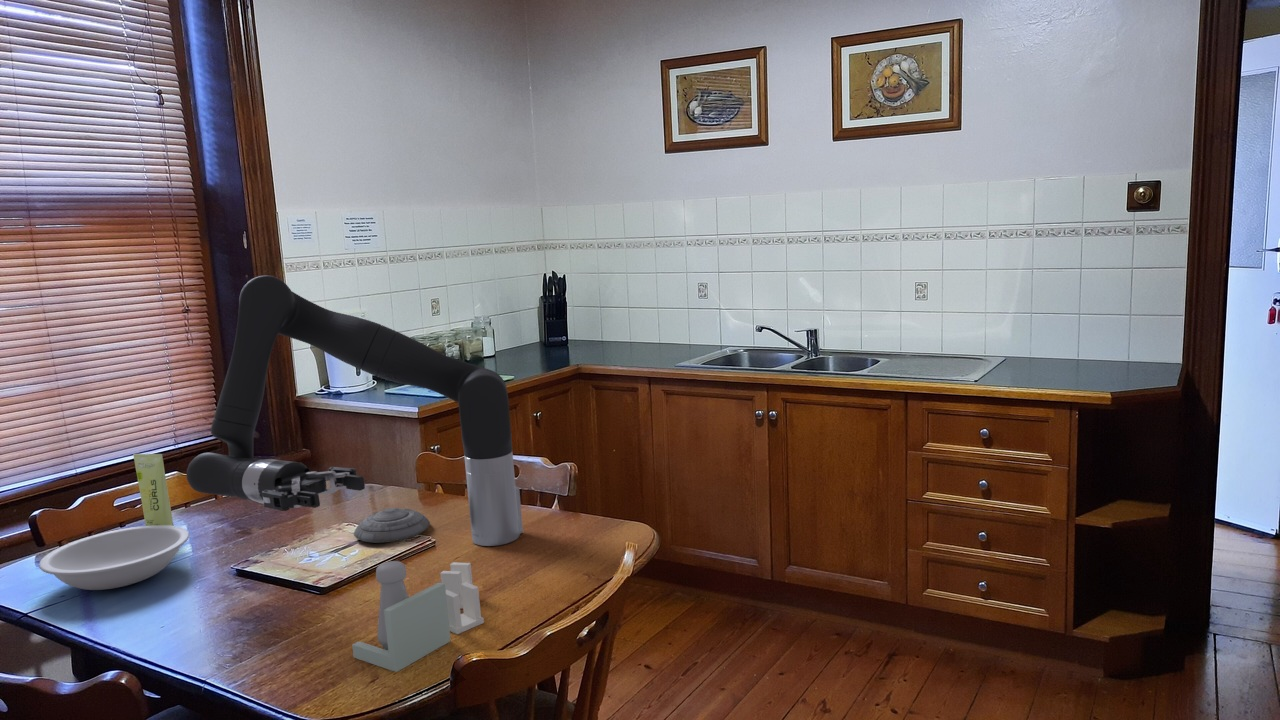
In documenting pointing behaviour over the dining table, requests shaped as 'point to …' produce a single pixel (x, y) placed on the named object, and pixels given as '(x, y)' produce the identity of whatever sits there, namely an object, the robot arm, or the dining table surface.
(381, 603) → the salt shaker
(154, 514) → the tube
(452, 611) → the clip
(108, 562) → the soup bowl
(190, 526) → the dining table surface
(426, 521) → the flying saucer
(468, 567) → the clip
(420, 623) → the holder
